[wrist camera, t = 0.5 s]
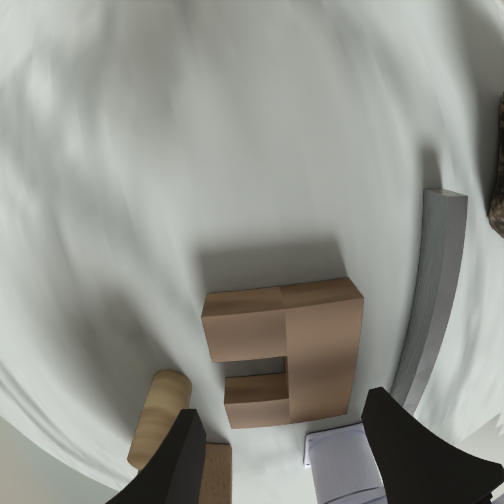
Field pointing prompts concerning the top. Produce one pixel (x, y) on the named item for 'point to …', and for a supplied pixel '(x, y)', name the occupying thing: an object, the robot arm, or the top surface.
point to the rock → (499, 184)
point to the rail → (431, 292)
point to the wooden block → (216, 475)
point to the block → (287, 349)
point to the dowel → (159, 414)
